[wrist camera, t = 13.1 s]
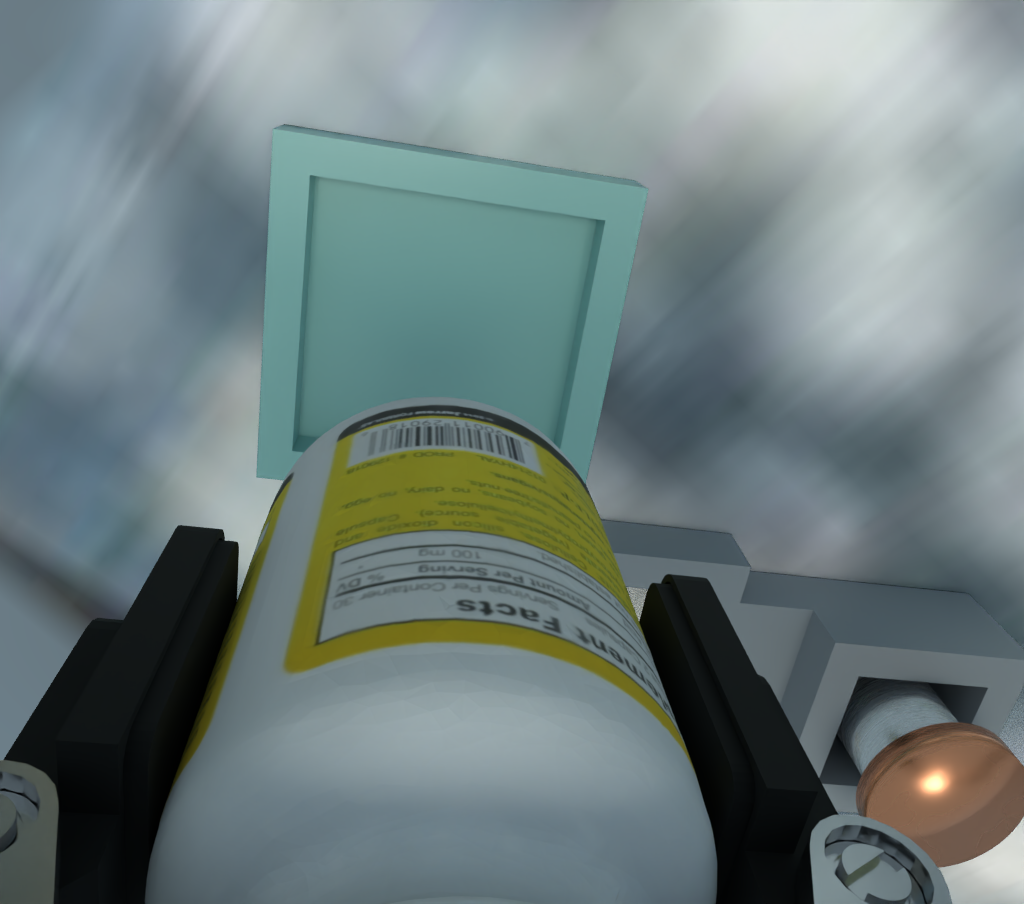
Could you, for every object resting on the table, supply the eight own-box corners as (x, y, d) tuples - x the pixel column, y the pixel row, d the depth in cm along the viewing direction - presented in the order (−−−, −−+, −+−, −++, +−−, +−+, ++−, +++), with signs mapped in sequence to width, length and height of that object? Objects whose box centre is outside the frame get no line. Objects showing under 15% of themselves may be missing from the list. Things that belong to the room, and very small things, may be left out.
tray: (635, 180, 25) (648, 188, 24) (571, 487, 29) (579, 512, 28) (284, 124, 24) (272, 128, 22) (267, 452, 28) (256, 477, 26)
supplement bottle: (413, 720, 16) (378, 1546, 7) (201, 517, 14) (-219, 1310, 5) (659, 560, 15) (979, 1290, 6) (467, 317, 13) (529, 871, 4)
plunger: (936, 616, 32) (1057, 751, 26) (891, 721, 34) (994, 872, 28) (809, 603, 32) (901, 739, 25) (771, 711, 34) (848, 863, 27)
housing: (982, 560, 32) (1052, 626, 28) (893, 767, 35) (945, 847, 32) (451, 503, 29) (453, 566, 25) (418, 731, 33) (415, 815, 29)
